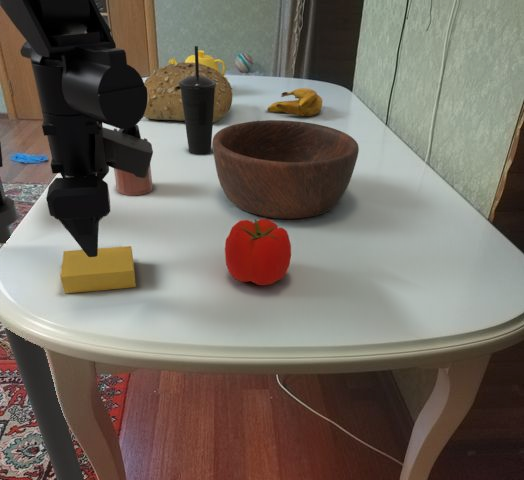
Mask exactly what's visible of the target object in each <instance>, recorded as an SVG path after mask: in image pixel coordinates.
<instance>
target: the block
mask: <svg viewBox="0 0 524 480" xmlns="http://www.w3.org/2000/svg"><path fill="white" fill-rule="evenodd" d="M133 254H134V253H133V248H132V246H131V245H127V246H125V245H124V246H115V247H113V246H112V247H98V255H97V256H96V257H88V256H87V255H86V253H85V252H84V251H83V249H75V250H64V251H63V254H62V263H61V270H60V271H61V272H60V281H61V285H62V290H63V293H64V294H76V293H86V292H97V291H98V292H99V291H106V290H107V291H108V290H118V289H119V290H120V289H130V288H136V287H137V284H136V274H135V265H134V255H133Z"/></svg>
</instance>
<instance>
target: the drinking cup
mask: <svg viewBox="0 0 524 480" xmlns="http://www.w3.org/2000/svg"><path fill="white" fill-rule="evenodd" d="M198 51H199V45H194V55H195V71H196V75H193V76H189V77H186V78H185V79H183V80H181V81H179V86H180V88H181V95H182V103H183V110H184V118H185V121H184V124H185V125H184V126H185V133H186V139H187V146H188V147H187V148H188V152H189V153H190V154H193V155H197V156H198V155H200V156H201V155H208V154H210V153H211V152H212V142H213V125H214V122H213V111H214V96H215V87H216V82H215V81H213V80H211V79H209V78H207V77H205V76H200V75H199V61H198Z"/></svg>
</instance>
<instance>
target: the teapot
mask: <svg viewBox="0 0 524 480" xmlns="http://www.w3.org/2000/svg"><path fill="white" fill-rule="evenodd" d="M198 61H199V64H202V65H205V66H208V67H211V68H213V69H215V70H217V71H218V72H220V73H221V75H222V76H224V77H225V78H226V80H227V81H228V82H229V79H228V77H226V76H225V74H226V68H227V67H226V62H224V61H223V60H222V59H220V58H217V59H215V58H214V57H213V56H211V55H209V54H205V51H204V50H198ZM167 62H168V65H169V64H170V63H172V64H173V63H174V64H179V63H178V62H177V61H176V58H175V57H172V58H170V59H169V60H168V61H167ZM184 63H195V54H192V55H191V54H190V55H189V56H187V58H186V59H185V61H184ZM218 63H219V64H221V65H222V72H221V69H220V67H219V65H218Z"/></svg>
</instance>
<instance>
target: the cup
mask: <svg viewBox="0 0 524 480" xmlns="http://www.w3.org/2000/svg"><path fill="white" fill-rule="evenodd" d="M113 172H114V179H115V187H116V191H117V192H118V193H119V194H121V195H124V196H141V195H142V196H143V195H146V194H148V193H151V192H152V191H153V179H152V178H153V177H152V169H151V165H150V166H149V170H148V173H147V177H146V178H139V177H136V176H135V175H134V174H132V173H128V172H125V171H121V170H118V169H115V168H113Z"/></svg>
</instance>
